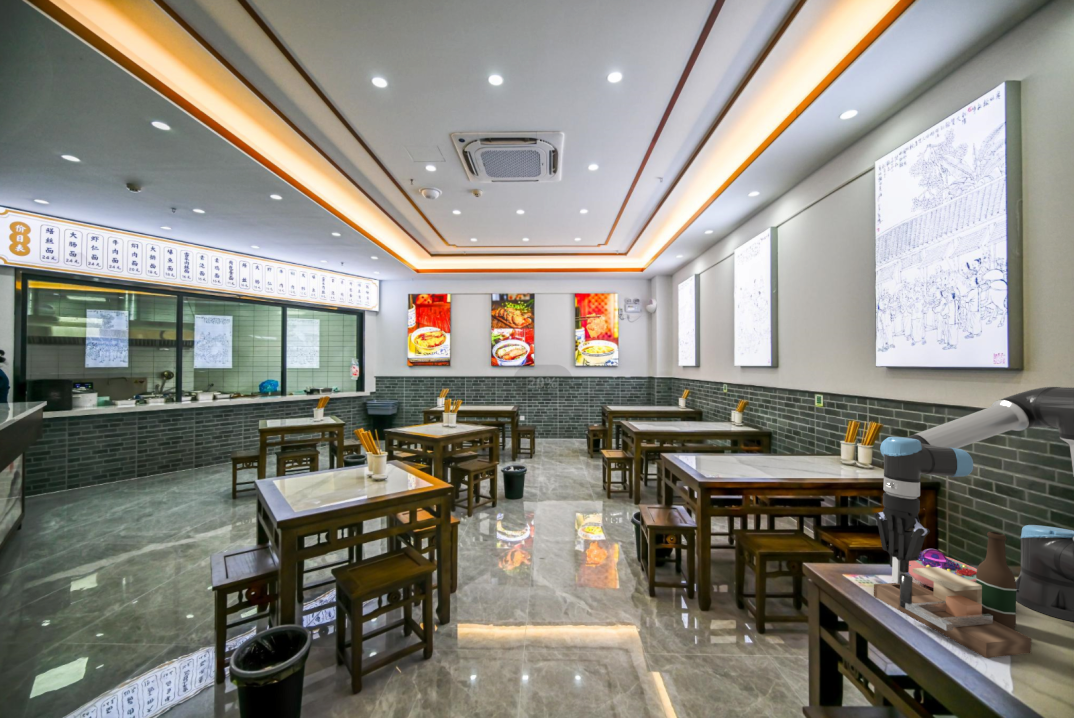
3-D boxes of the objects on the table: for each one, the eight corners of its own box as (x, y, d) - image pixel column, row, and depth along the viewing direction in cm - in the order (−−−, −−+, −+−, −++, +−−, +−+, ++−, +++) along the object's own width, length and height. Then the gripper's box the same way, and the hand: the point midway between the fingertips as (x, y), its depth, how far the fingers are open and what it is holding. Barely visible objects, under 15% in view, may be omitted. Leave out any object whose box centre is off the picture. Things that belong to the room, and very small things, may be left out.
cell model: (926, 601, 121) (927, 562, 122) (891, 570, 140) (892, 537, 141) (1001, 614, 116) (1002, 573, 116) (953, 580, 135) (954, 545, 136)
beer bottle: (1005, 619, 114) (1007, 531, 114) (1024, 635, 106) (1026, 541, 107) (967, 611, 117) (969, 525, 117) (983, 626, 110) (985, 535, 110)
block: (960, 610, 111) (960, 595, 111) (981, 620, 106) (981, 604, 106) (945, 611, 110) (946, 596, 110) (966, 621, 105) (966, 605, 105)
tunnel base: (911, 593, 125) (911, 581, 126) (1030, 653, 99) (1031, 638, 100) (873, 596, 123) (873, 584, 123) (986, 658, 97) (986, 642, 97)
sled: (945, 600, 115) (946, 570, 115) (997, 625, 104) (998, 592, 104) (897, 604, 111) (898, 573, 112) (945, 630, 100) (946, 596, 101)
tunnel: (937, 595, 118) (938, 567, 118) (981, 616, 108) (981, 585, 108) (912, 597, 116) (912, 568, 116) (954, 618, 106) (954, 587, 107)
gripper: (866, 487, 119) (864, 571, 118) (915, 502, 106) (913, 596, 105) (888, 487, 120) (885, 569, 120) (939, 502, 107) (937, 594, 107)
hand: (898, 582), depth 112 cm, fingers closed
